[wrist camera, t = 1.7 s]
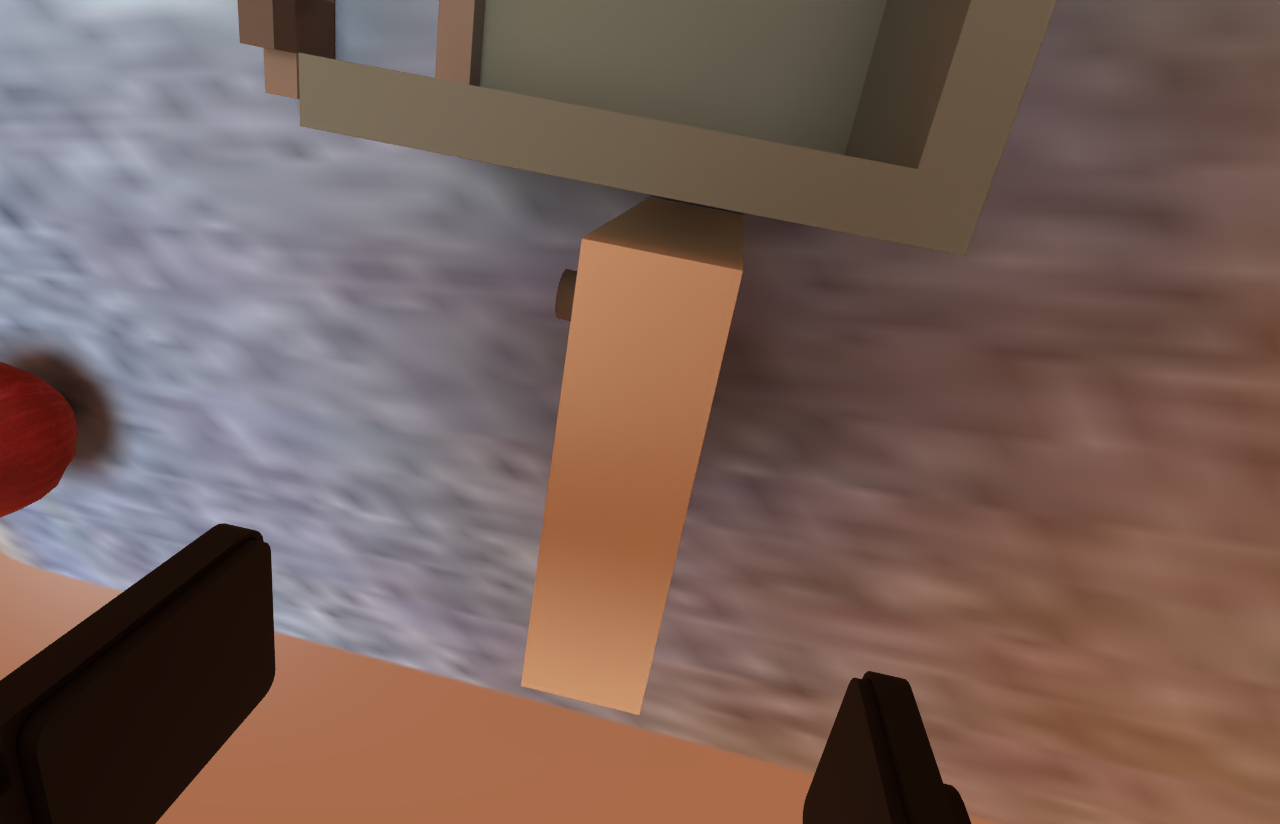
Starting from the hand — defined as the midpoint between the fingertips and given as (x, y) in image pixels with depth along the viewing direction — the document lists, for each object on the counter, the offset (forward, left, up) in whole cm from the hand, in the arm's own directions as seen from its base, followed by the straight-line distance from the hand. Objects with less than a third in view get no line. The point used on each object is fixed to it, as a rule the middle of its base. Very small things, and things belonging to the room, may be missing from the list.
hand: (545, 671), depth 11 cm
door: (0, 0, -14) cm, 14 cm away
